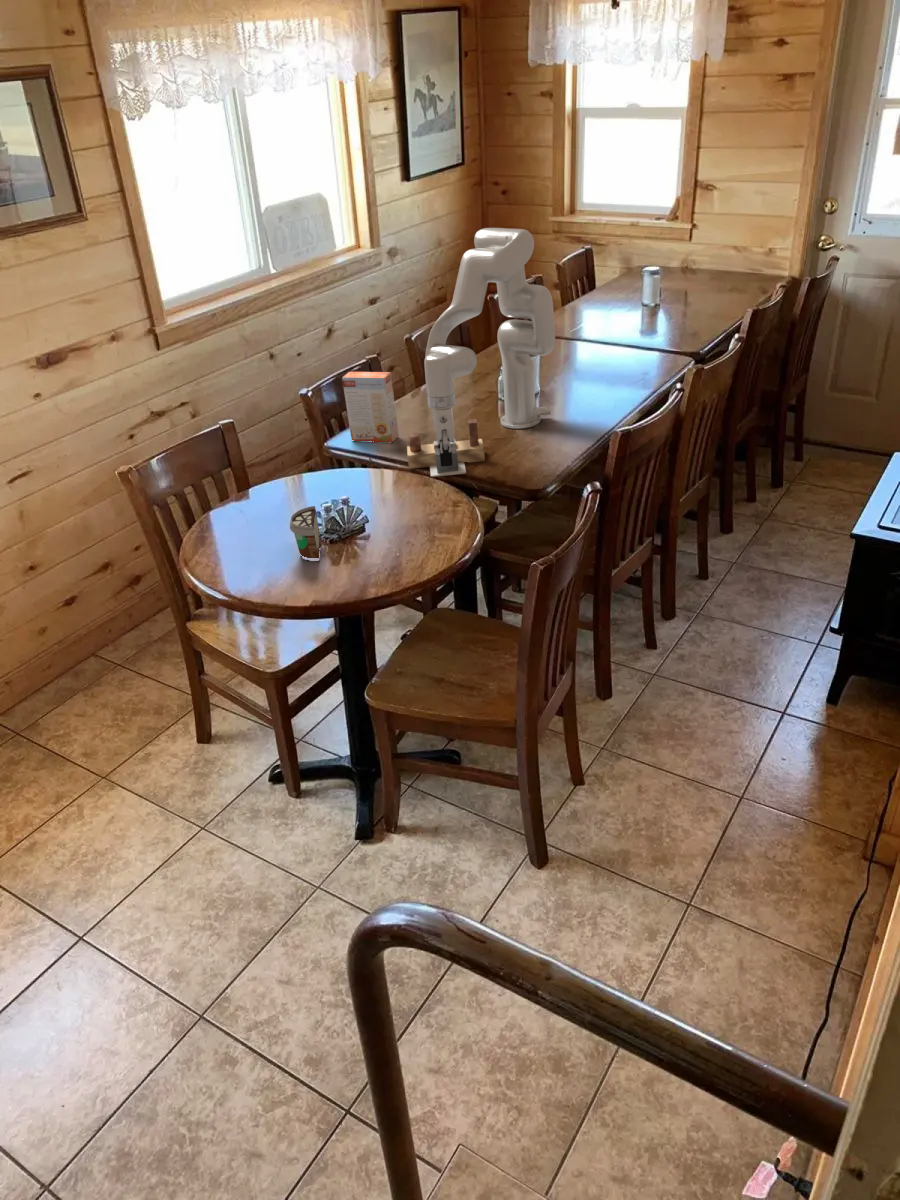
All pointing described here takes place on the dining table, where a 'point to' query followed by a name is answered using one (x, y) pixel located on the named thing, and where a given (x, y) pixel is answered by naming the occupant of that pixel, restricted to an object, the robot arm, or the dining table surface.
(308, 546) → the lidded drink cup
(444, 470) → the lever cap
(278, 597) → the dining table surface
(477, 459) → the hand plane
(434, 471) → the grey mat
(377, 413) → the cracker box
